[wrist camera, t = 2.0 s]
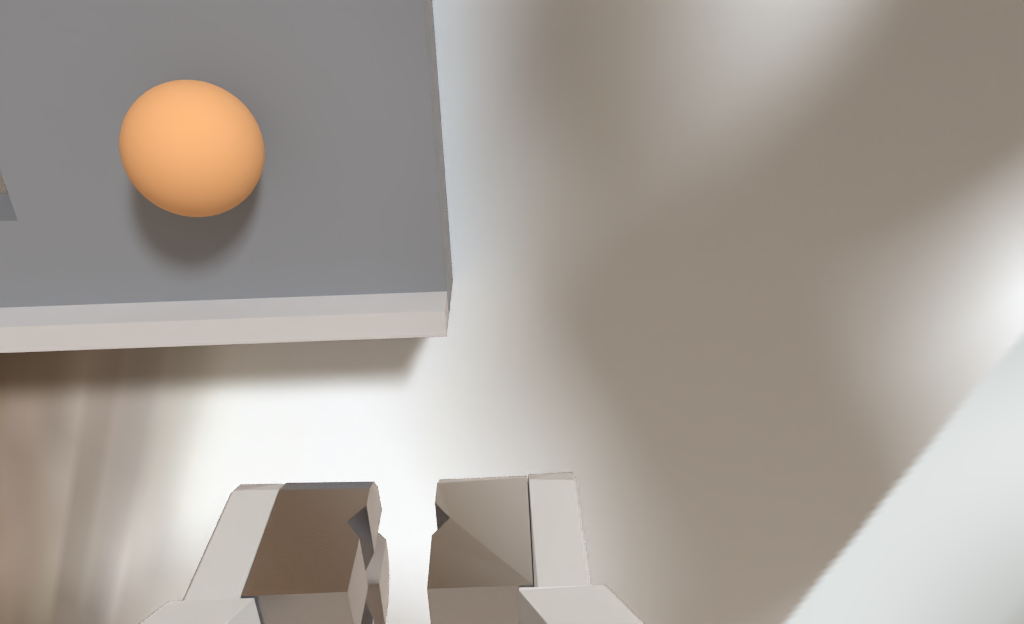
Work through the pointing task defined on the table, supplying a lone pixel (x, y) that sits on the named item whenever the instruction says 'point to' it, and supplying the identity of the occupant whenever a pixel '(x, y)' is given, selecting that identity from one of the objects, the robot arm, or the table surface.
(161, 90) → the ball
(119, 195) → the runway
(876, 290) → the table surface
